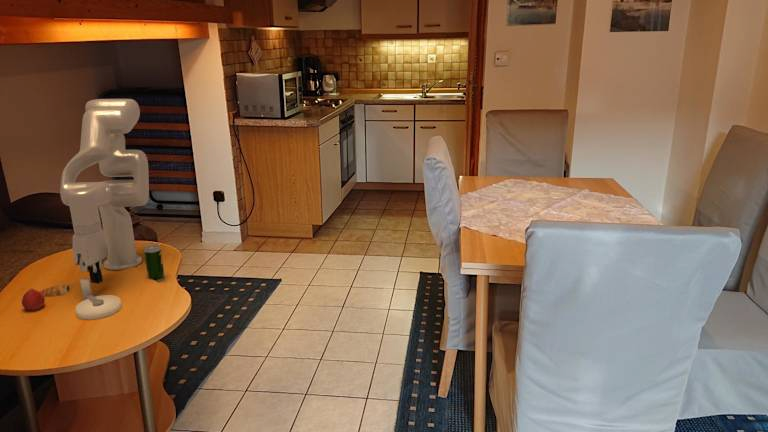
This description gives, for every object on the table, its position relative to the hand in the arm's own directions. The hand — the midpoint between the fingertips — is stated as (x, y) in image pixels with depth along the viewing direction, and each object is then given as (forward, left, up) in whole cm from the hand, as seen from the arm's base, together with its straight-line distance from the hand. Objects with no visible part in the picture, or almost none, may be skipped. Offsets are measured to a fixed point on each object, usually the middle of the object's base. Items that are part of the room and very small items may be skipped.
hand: (96, 282), depth 173 cm
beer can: (-9, +16, -5) cm, 20 cm away
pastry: (-4, -13, -6) cm, 15 cm away
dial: (+11, +1, -4) cm, 12 cm away
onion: (+6, -17, -5) cm, 18 cm away
